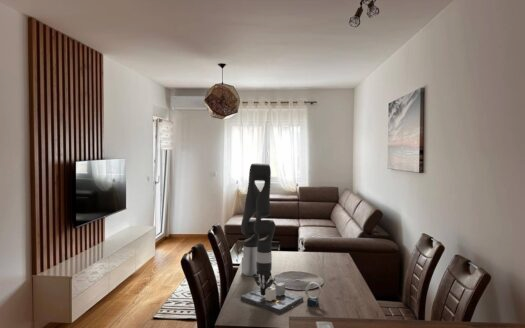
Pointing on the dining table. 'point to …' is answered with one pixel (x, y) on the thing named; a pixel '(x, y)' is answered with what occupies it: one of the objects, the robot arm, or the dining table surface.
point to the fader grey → (280, 289)
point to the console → (275, 305)
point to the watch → (312, 300)
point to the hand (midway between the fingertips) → (263, 295)
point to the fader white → (270, 294)
